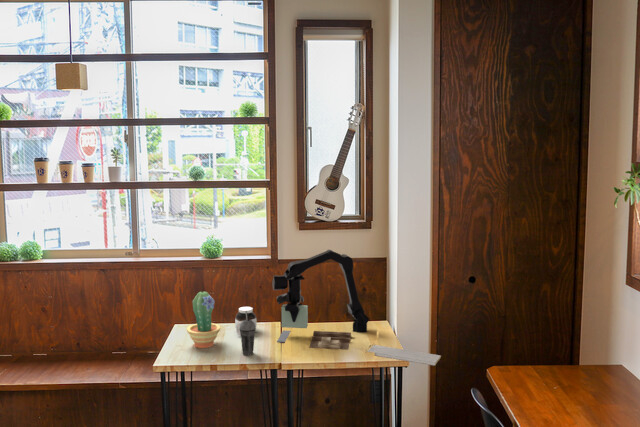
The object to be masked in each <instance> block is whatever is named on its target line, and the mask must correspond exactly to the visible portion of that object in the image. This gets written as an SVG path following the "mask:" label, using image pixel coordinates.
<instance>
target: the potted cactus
mask: <svg viewBox="0 0 640 427" xmlns="http://www.w3.org/2000/svg"><path fill="white" fill-rule="evenodd" d="M215 303H216V302H215V299H214V298H213V297H212V296H211V295H210V294H209V292H208V291H199V292H198V293H197V294H196V295H195V297H194V299H192V311H193V313H194V316H195V319H196V323H195V324H191V325H188V326H187V328H186V332H187V334H188V335H189V337H190V339H191V341H192V342H193V343H194V344H193V346H195V347H196V348H198V349H201V348H203V349H205V348H210V347H212V346H214V345H215V343H214V342H215V341H216V339H217V336H218V333H219V332H221V325H219V324H217V323H213V322H212V313H213V310H214V308H215Z"/></svg>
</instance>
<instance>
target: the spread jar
mask: <svg viewBox="0 0 640 427" xmlns="http://www.w3.org/2000/svg"><path fill="white" fill-rule="evenodd" d="M253 309H254V308H253V307H251V306H241V307H239V308H238V312H237V313H236V315H235V319H234V320H235V321H234V322H235V323H234V324H235V329H236V330H235V331H236V333H237V335H239V336H240V337H241V334H240V330H239V329H240V324H241V323H242V322H243V321H244V320H246V311H247V319H249V320H252V321H253V322H254V324H255V327H256V328H257V324H258V323H257V315H256V314H255V313H254V312H253V311H254V310H253Z"/></svg>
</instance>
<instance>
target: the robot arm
mask: <svg viewBox="0 0 640 427" xmlns="http://www.w3.org/2000/svg"><path fill="white" fill-rule="evenodd" d="M330 260H331V261H334V262H336V263H338V265H339V267H340V269H341V271H342V273H343V276H344V280H345V285H346V290H347V294H348V297H349V303H347V304H346V306H347V310H348V311H347V312H348V313H349V314H350V315H351V316H352V317H353V319H354V320H353V323H352V332H356V333H360V334H364V333H368V323H369V320H370V318H369V317H368V316H367V315H366V314H365V310H364V307H363V306H362V303H361V302H360V300H359V295H358V291H357V287H356V282H355V278H354V261H353V260H354V259H353V258H352V257H350V256H349V255H347V253H346V254H345V253H342V254H340V253H338V252H335V251H333V250H332V249H327V250H326V251H323V252H321V253H318V254H315V255H313V256H311V257H309V258H306V259H302V260H301V259H300V260H293V261H291V262H289V263H288V265H287V268H286V270H285V271H284V273H283V275H282V274H281V275H273V278H272V282H271V284H272V286H271V287H272V289H273V290H272V291H279V290H280V291H281V290H286V289H288V291H287V292H286V293H285V292H284V293H282V294H279V295H278V296H276V302H277V303H278V305H281V304H283V303H286V304H285V305H286V306H285V311H289V312H290V314H291V317H292V321H293V322H295V321H296V318H297V315H298V313H299V310H300V308H299V305H303V303H304V301H305V299H304V298H305V297H304V296H303V295H301V293H302V289H301V288H302V287H301V284H302V283H301V282H302V280H305V279H306V278H305V277H304V276H303V273H304V272H305V271H307V270H308V269H310V268H312V267H314V266H317V265H319V264H322V263H324V262H327V261H330Z"/></svg>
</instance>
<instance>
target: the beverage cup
mask: <svg viewBox="0 0 640 427" xmlns="http://www.w3.org/2000/svg"><path fill="white" fill-rule="evenodd" d="M239 330H240V334H241V336H240V340H241V352H242V355H243V356H247V357H248V356H252V355H253V354H254V347H255V346H254V345H255V335H256V330H257V326H256V327H255V324H254V322H253V321H252V320H249V319H247V311H246V320H244V321H243V322H242V323H241V324H240V329H239Z"/></svg>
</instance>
